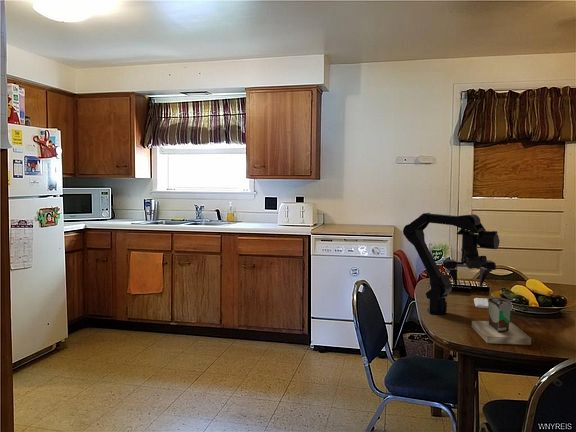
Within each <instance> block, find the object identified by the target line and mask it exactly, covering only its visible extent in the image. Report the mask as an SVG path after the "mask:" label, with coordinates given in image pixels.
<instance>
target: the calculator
mask: <svg viewBox="0 0 576 432" xmlns="http://www.w3.org/2000/svg"><path fill="white" fill-rule="evenodd" d="M473 303H474V306H475V308H481V309H488V298H486V297H485V298H483V297H481V298H479V297H475V298H473Z"/></svg>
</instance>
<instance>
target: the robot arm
mask: <svg viewBox="0 0 576 432" xmlns="http://www.w3.org/2000/svg"><path fill="white" fill-rule="evenodd" d="M429 224H439V225H448V226H454V227H457V228H459V230H458V231H457V232H456V235H461V248H460V249H461V257H460V261H456V260H455V259H448V258H447V259H444V260H443V262H442V267H443V268H445V269H446V270H448V271H449V273H450V275H451V277H452V280H453V282H452V281H451V280H450V278H449V274H448V273H447V274H444V273H442V272H441V270H440V269H439V267H438V265H437V263H436V261H435V259H434V257H433V255H432V253H431V251H430V249H429V247H428V244H426V241H425V232H424V230H425V229H426V228H427V227H428V226H429ZM402 229H403V230H402V234H403V236H404V237H405V238H406V240H407V241H408V242H409V243H410V244H411V245H412V246H414V249H415V250H416V252H417V254H418V256H419V259H420V260H421V263H422V264H423V266H424V268H425V269H424V270H426V273H427V274H428V277H429V286H430V289H429V290H427V292H426V293H425V296H426V299H428V304H427V305H428V306H427V310H426V311H427V312H428V313H429V315H447V310H448V309H447V307H448V305H447V304H448V302H447V300H446V298H447V297H448V294H450V293H451V291H452V289H453V285H452V284H453V283H454V286H455V287H458V269H457V267H462V268H465V267H467V268H468V269H470V270H473V269H476V270H479V277H478V279H479V281H478V283H479V285H478V286H479V287H481V288H482V286H483V284H484V282H485V279H486V277H487V275H488V274H489V273H491V272H493V271H496V269H497V265H496V263H495V261H492V260H490V259H488V260H487V256H486V255H479V250H478V247H479V248H481V249H486V250H487V249H489V250H498V249H499V246H500V237H499V235H498V231H496V230H493V231H492V230H491V231H490V230H486V228H485V226H483V224H482V222H481V218H480V217H479V216H478V215H477V214H476V213H475V214H462V215H450V214H441V213H431V212H423V213H422V214H420V215H419V216H418V217H417V218H416V219H414V220H413V221H411V222H410V223H408V224H406V225H404V227H403V228H402Z"/></svg>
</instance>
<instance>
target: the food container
mask: <svg viewBox="0 0 576 432" xmlns="http://www.w3.org/2000/svg"><path fill="white" fill-rule="evenodd" d="M487 299H488V308H487V310H488V321H489V325H490V326H491V327H492V328H493V329H494V330H496V331H497V332H498V333H502V332H507V331H508V330H509V322H511V321H510V320H511V311H513V310H512V309H513V305H512V303H511V301H512V300H510V299H508V298H503V297H499V296H498V297H497V296H488V298H487Z"/></svg>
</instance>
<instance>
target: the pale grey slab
mask: <svg viewBox="0 0 576 432" xmlns="http://www.w3.org/2000/svg"><path fill="white" fill-rule="evenodd" d="M471 328H472V329H474V331H475V332H476V333H477V334H478V335H479V336H480V337H481V339H483V340H484V341H485V342H486V344H500V345H501V344H502V345H526V346H530V345H531V346H532V337H530V336H529V335H528V334H527V333H525V332H524V331H523V330H522V329H520V328H519V327H518V326H516V325H515V323H513V322H511V321H510V322H509V330H508V331H507V332H502V333H498V332H497V331H496V330H494V329H493V328H492V327H491V326H490V325H489V320H471Z"/></svg>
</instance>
